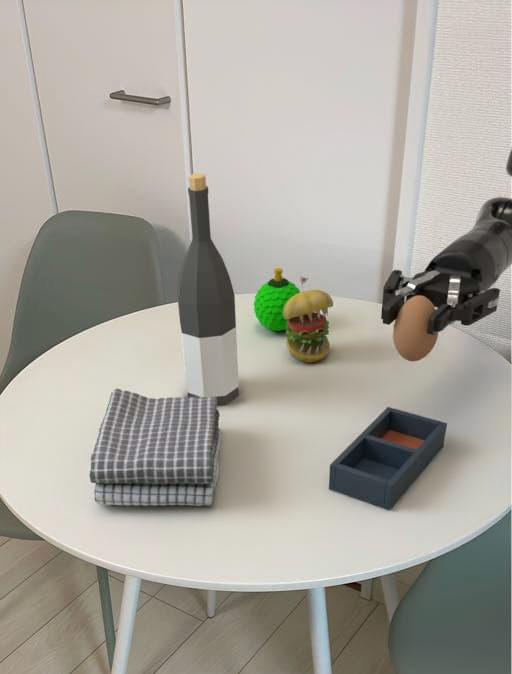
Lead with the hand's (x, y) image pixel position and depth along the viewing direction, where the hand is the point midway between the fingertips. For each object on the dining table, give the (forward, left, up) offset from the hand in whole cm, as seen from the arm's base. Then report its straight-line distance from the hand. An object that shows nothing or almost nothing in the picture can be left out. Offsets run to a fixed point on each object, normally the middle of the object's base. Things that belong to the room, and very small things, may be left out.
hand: (408, 321), depth 86 cm
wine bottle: (+29, 0, -18) cm, 34 cm away
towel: (+23, +19, -18) cm, 35 cm away
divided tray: (-1, +4, -17) cm, 18 cm away
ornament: (+32, -23, -18) cm, 43 cm away
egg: (0, -3, -6) cm, 7 cm away
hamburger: (+23, -17, -18) cm, 34 cm away
